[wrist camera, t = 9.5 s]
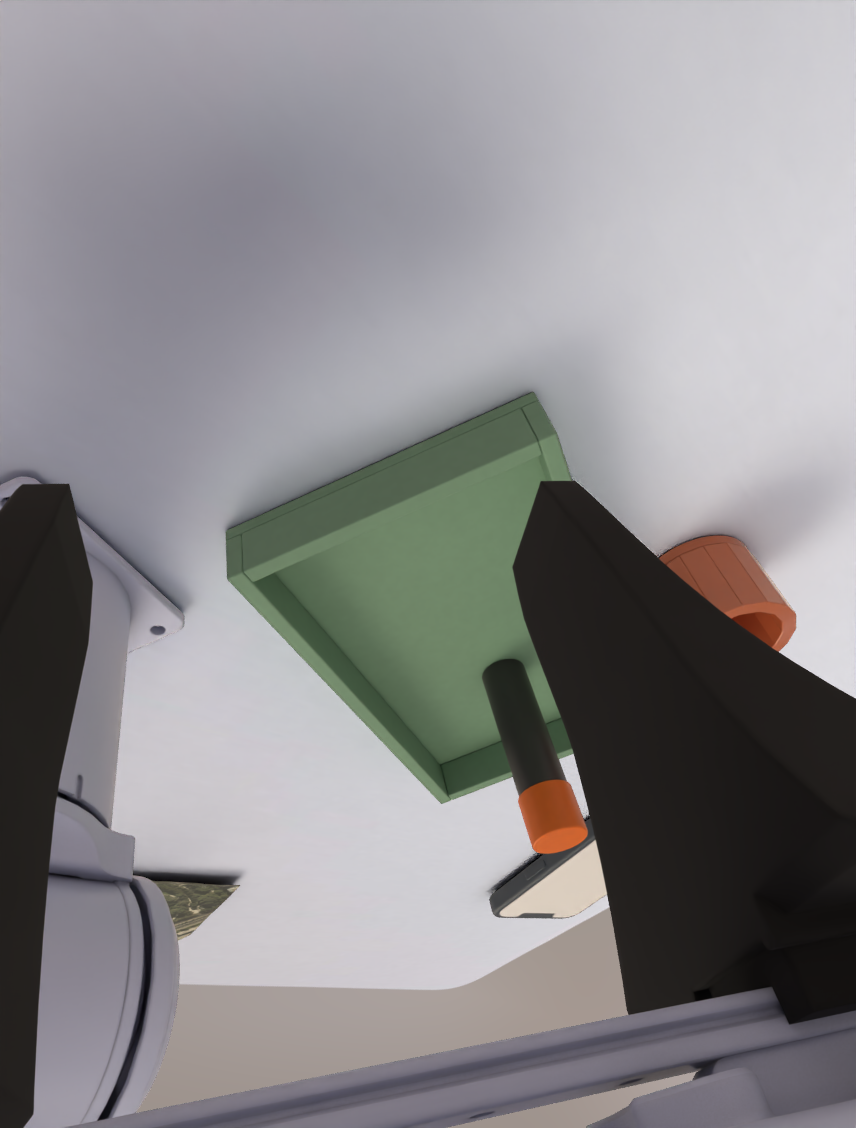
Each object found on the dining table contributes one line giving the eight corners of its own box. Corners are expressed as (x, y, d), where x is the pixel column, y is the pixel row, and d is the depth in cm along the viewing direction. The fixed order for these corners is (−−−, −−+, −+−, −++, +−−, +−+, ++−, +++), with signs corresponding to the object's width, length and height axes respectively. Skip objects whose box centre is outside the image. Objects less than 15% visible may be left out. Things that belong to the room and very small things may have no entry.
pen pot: (643, 632, 34) (679, 699, 32) (625, 566, 31) (663, 636, 28) (751, 589, 34) (796, 654, 31) (746, 516, 30) (797, 584, 27)
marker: (487, 692, 34) (540, 859, 29) (472, 669, 33) (526, 841, 27) (531, 674, 34) (593, 840, 29) (518, 650, 33) (581, 821, 27)
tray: (431, 764, 39) (441, 804, 38) (224, 530, 25) (225, 579, 23) (631, 686, 38) (650, 724, 36) (533, 390, 23) (557, 432, 22)
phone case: (624, 782, 46) (479, 896, 54) (635, 805, 45) (485, 919, 53) (711, 795, 51) (565, 899, 59) (723, 817, 50) (572, 920, 58)
